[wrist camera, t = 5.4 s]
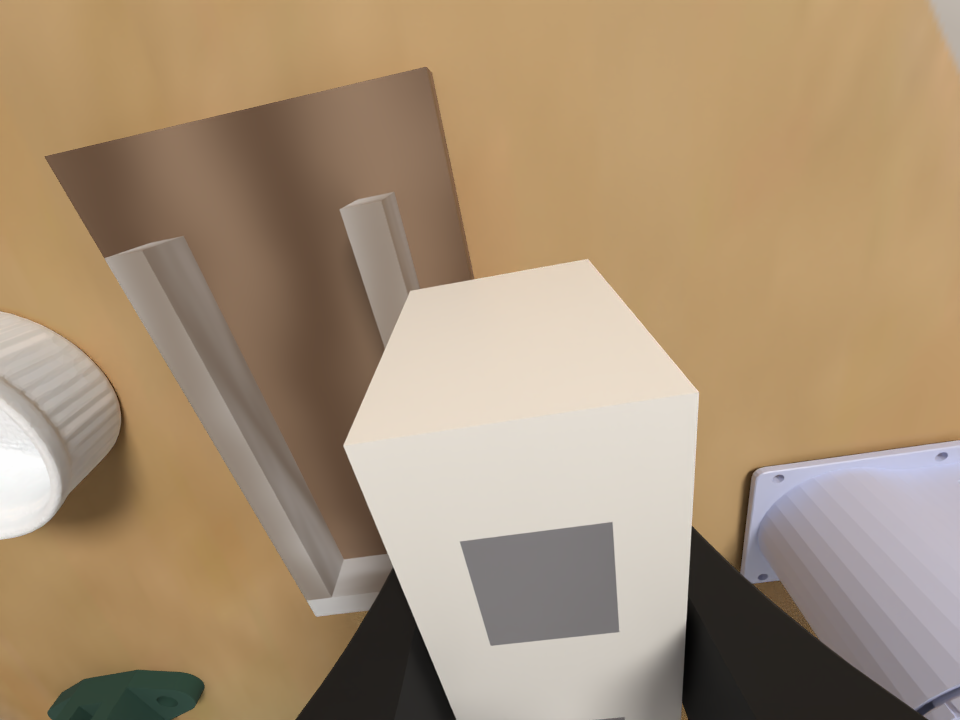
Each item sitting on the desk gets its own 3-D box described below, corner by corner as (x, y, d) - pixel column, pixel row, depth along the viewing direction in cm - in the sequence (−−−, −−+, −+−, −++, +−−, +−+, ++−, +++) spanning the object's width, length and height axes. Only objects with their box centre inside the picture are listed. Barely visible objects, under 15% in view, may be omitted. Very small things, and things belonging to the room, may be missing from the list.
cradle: (431, 73, 14) (416, 55, 11) (530, 551, 24) (537, 615, 20) (83, 154, 15) (-23, 160, 12) (318, 578, 25) (294, 643, 22)
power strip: (587, 258, 10) (698, 392, 5) (610, 581, 15) (675, 807, 10) (410, 290, 10) (343, 445, 5) (492, 595, 15) (497, 820, 10)
